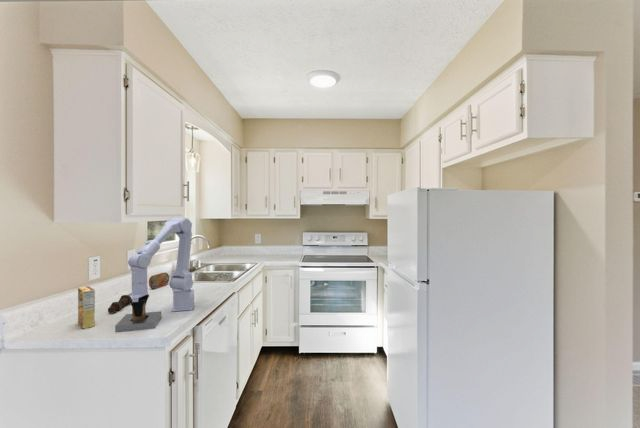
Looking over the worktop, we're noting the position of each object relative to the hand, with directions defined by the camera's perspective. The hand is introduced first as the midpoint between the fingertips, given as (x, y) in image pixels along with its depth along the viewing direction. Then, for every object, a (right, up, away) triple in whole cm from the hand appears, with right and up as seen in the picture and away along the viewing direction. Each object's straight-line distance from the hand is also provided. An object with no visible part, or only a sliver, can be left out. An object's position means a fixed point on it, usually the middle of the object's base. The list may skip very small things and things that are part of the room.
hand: (139, 314), depth 132 cm
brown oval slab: (-24, -3, +63) cm, 67 cm away
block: (0, -3, 0) cm, 3 cm away
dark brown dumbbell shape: (-22, -4, +20) cm, 30 cm away
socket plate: (0, -4, 0) cm, 4 cm away
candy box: (-22, -4, -1) cm, 22 cm away
